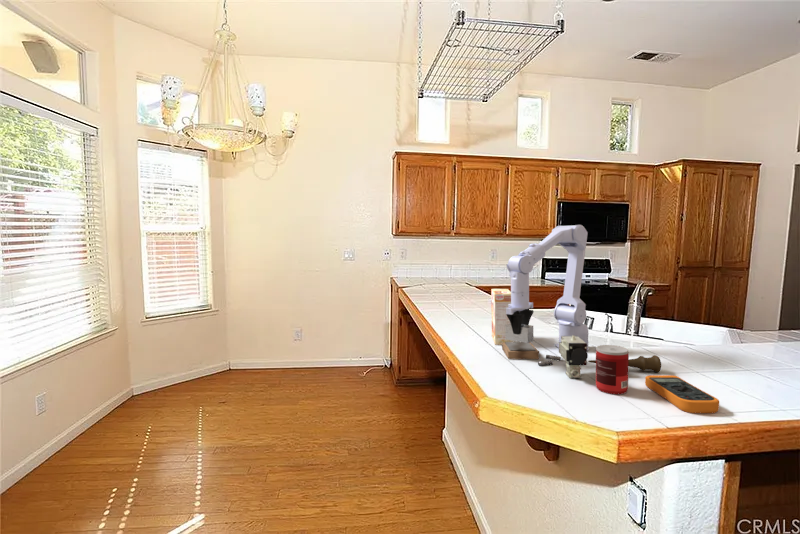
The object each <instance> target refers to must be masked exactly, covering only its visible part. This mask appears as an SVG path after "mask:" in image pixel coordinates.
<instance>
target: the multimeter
mask: <svg viewBox="0 0 800 534" xmlns="http://www.w3.org/2000/svg"><path fill="white" fill-rule="evenodd" d="M644 379H645V380H644V382H645V386H646V387H647V389H650V390H651V391H652V392H654V393H656V394H657V395H659V396H660V397H662V399H665V400H667V401H668V402H669V403H671V404H672V405H673V406H675V407H676V408H677V409H678V410H680V411H681V412H685V413H690V414H716V413H717V412H718V411H720V400H719V399H718V398H717V397H715V396H713V395H711V394H709V393H707V392H706V391H704V390H702V389H700V388H699V387H696V386H695V385H693V384H691V383H689V382H687V381H686V380H684V379H683V378H681V377H679V376H678V375H667V374H666V375H665V374H664V375H663V374H662V375H661V374H660V375H652V374H651V375H645V378H644Z"/></svg>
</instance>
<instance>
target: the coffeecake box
mask: <svg viewBox="0 0 800 534" xmlns="http://www.w3.org/2000/svg"><path fill="white" fill-rule="evenodd" d="M490 292H491V294H490V295H491V301H490V302H491V303H490V304H491V337H492V341H493V342H494V345H495V346H502V342H514V341H512V340H506V338H505V325H506V324H509V323H510V321H509V319H508V317H507V315H506V308H508V304H511V290H509V288H491V290H490Z"/></svg>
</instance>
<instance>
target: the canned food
mask: <svg viewBox="0 0 800 534" xmlns="http://www.w3.org/2000/svg"><path fill="white" fill-rule="evenodd" d="M629 355H630V353H629V348H628V347H624V346H620V345H614V344H600V345H598V346H596V348H595V360H596V363H595V386H596V389H597V390H598V391H599V392H602V393H604V394H608V395H623V394H626V393H627V392H628V389H629V366H628V363H629V358H630V356H629Z"/></svg>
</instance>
